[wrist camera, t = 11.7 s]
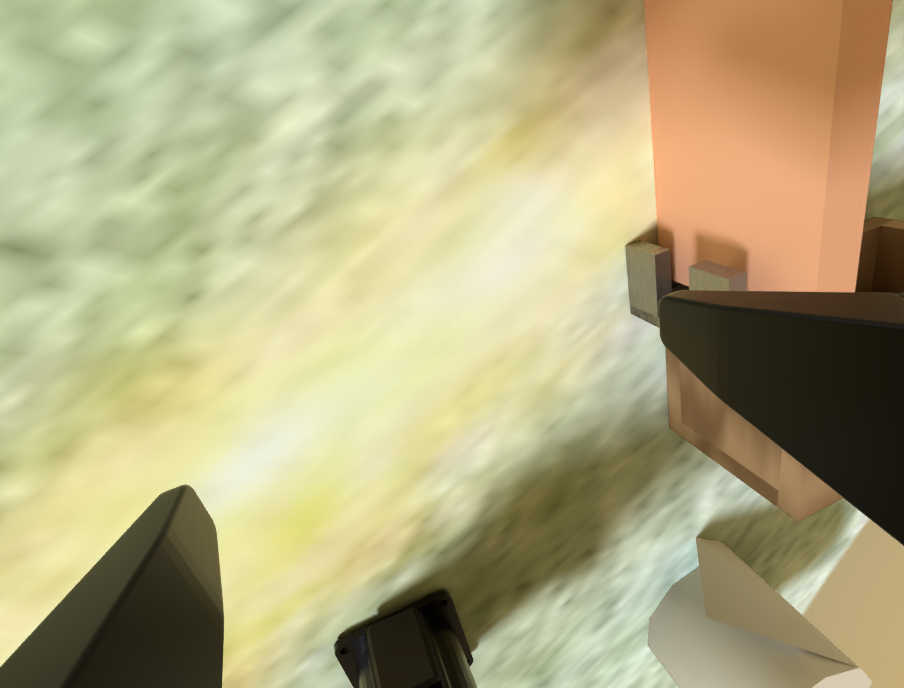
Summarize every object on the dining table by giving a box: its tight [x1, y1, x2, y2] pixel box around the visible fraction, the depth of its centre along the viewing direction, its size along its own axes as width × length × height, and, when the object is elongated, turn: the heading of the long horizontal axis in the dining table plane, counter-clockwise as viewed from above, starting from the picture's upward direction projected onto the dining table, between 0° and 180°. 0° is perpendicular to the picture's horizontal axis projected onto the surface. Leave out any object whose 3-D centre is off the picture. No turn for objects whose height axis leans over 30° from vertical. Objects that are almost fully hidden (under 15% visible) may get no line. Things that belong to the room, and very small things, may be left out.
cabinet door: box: [644, 0, 893, 292], centre depth 19 cm, size 12×2×8 cm, turn 15°
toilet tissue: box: [648, 538, 872, 688], centre depth 33 cm, size 9×13×9 cm
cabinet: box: [666, 217, 904, 522], centre depth 25 cm, size 8×14×8 cm, turn 104°
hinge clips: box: [626, 241, 747, 328], centre depth 22 cm, size 4×5×6 cm
